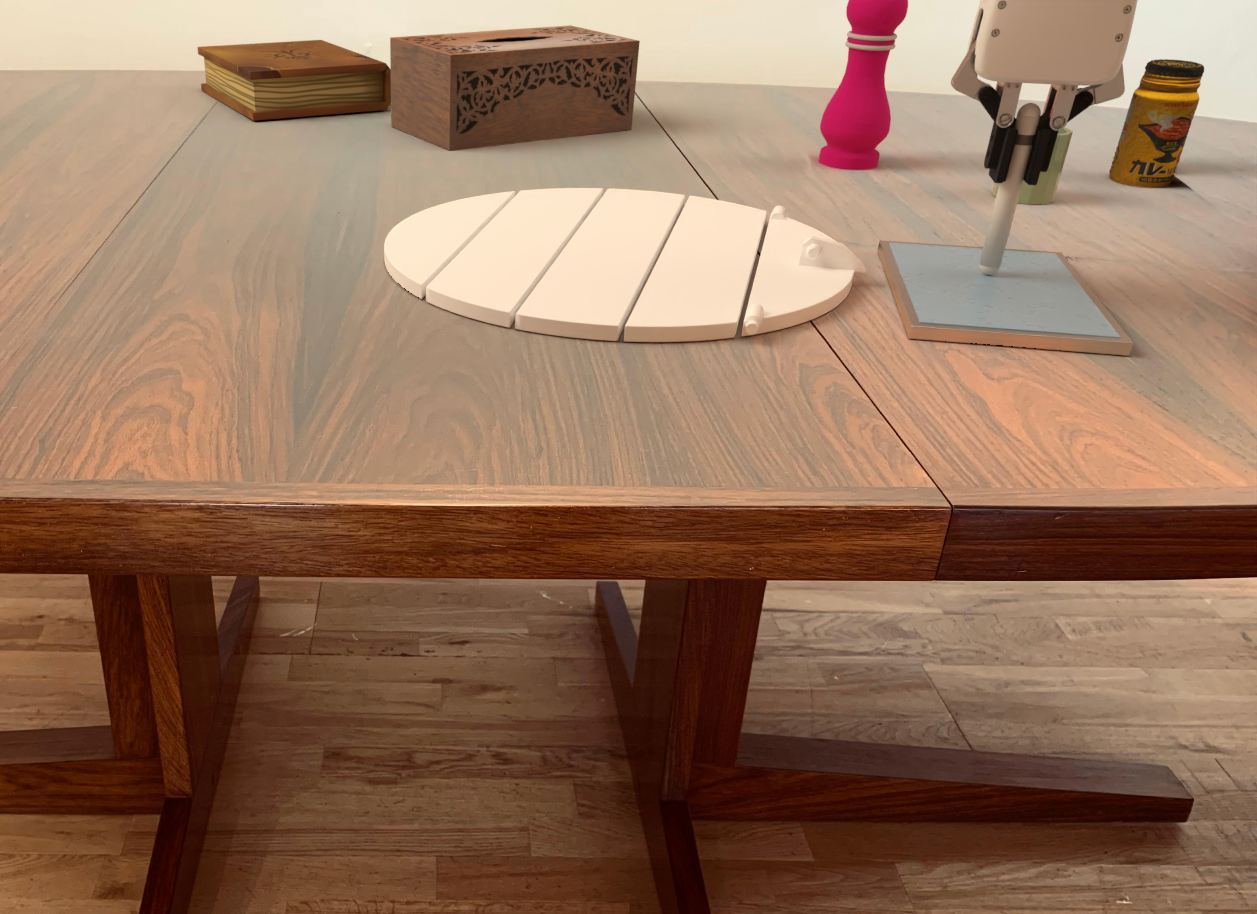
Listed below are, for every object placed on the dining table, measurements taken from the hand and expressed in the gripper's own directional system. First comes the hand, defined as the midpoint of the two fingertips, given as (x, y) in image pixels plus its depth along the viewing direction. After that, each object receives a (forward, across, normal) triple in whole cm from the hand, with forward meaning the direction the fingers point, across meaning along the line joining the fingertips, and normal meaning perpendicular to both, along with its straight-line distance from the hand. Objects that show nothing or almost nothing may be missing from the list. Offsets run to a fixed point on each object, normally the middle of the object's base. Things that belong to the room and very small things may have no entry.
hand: (1012, 178), depth 92 cm
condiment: (+9, -21, -40) cm, 47 cm away
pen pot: (+9, -8, -29) cm, 32 cm away
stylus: (+8, 0, 0) cm, 8 cm away
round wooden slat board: (+9, +30, 0) cm, 31 cm away
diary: (+9, +78, -61) cm, 99 cm away
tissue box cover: (+9, +47, -51) cm, 70 cm away
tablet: (+9, 0, +3) cm, 9 cm away
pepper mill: (+9, +8, -40) cm, 42 cm away
